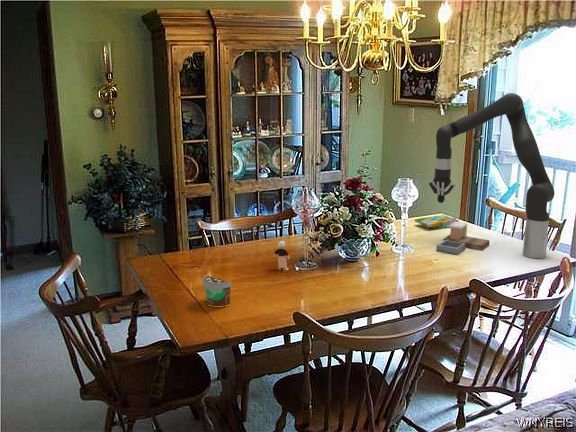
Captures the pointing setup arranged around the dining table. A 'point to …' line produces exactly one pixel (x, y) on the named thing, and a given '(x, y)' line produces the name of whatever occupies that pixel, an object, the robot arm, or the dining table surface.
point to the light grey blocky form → (457, 225)
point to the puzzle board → (471, 242)
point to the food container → (217, 291)
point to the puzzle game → (434, 222)
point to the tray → (451, 247)
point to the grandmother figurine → (282, 256)
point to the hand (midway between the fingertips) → (440, 202)
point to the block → (456, 233)
